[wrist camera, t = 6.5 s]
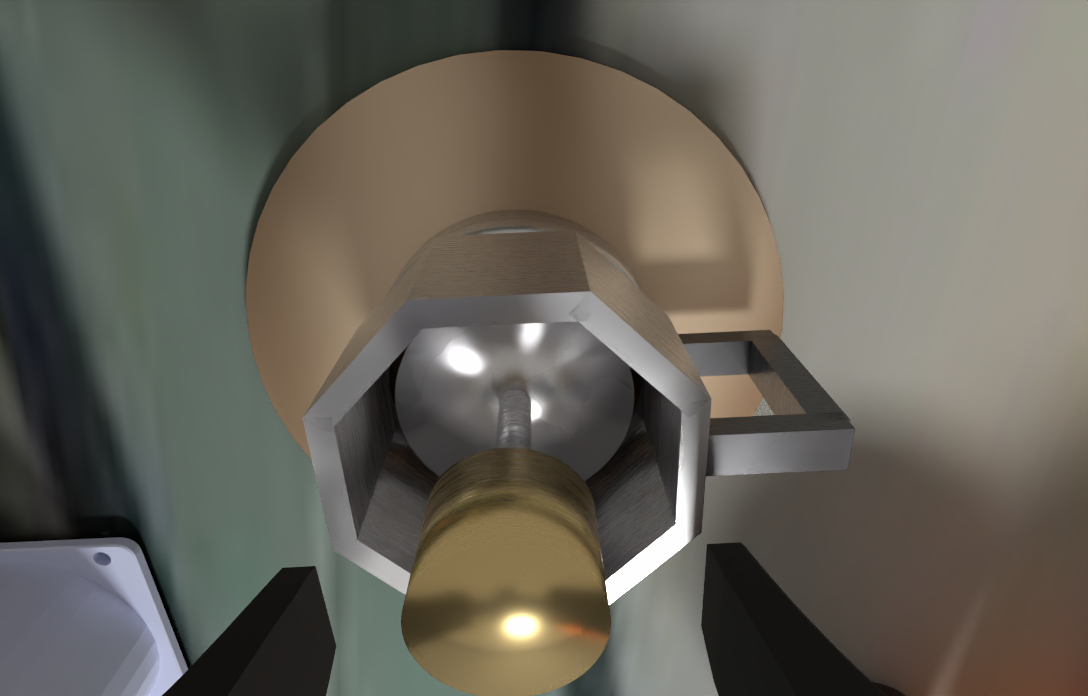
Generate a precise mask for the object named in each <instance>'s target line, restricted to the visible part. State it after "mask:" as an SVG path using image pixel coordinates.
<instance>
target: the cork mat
mask: <svg viewBox="0 0 1088 696" xmlns="http://www.w3.org/2000/svg"><path fill="white" fill-rule="evenodd" d="M509 209H512V210H533V211H539V212H546V213H550V214H553V215H557V216H560V217H564V218H566V219H569V220H571V221H573V222H576V223H578V224H580V225H582V226H584V227H586V228H587V229H589V230H591V231H592V232H594V233H595V234H597V235H598V236H600V237H601V238H602V239H603V240H605V241H606V242H607V243H608V244H610V245H611V246H612V247H613V248H614V249H615V250H616V251H617V252H618V254H619V255H620V256H621V257H622V258H623V259H624V260H625V262H626V263H627V265H628V266H629V267H630V269H631V270H632V272H633V273H634V275H635V277H636V279H637V281H638V283H639V285H640V287H641V289H642V291H643V293H644V294H645V295H646V296H647V297H649V298H650V299H651V300H652V301H653V302H654V303H655V304H656V305H657V306H658V307H659V308H661V309H662V310H663V311H664V312H665V313H666V314H667V315H668V316H669V318H670V320H671V322H672V324H673V326H674V328H675V329H676V331H677V333H678V334H688V333H709V332H731V331H753V330H771V331H772V332H773V333H774V335H777V336H778V337H779V338H780V337H781V332H782V321H783V302H784V294H783V282H782V271H781V262H780V258H779V254H778V250H777V246H776V242H775V237H774V233H773V230H772V227H771V225H770V222H769V220H768V217H767V215H766V212H765V210H764V207H763V205H762V202H761V200H760V197H759V196H758V194H757V192H756V191H755V189H754V187H753V185H752V184H751V182H750V180H749V179H748V177H747V175H746V173H745V172H744V170H743V168H742V167H741V165H740V164H739V163H738V162H737V160H736V159H735V158H734V157H733V155H732V154H731V153H730V152H729V150H728V149H727V148H726V147H725V145H724V144H723V143H722V142H721V140H720V139H719V138H718V137H717V136H716V135H715V134H714V133H713V132H712V131H711V130H710V129H708V128H707V127H706V126H705V125H704V124H703V123H702V122H701V121H700V120H699V119H698V118H697V117H696V116H694V115H693V114H692V113H691V112H690V111H689V110H687V109H686V108H684V107H683V106H682V105H680V104H679V103H677V102H676V101H674V100H673V99H671V98H670V97H668V96H667V95H666V94H664V93H663V92H661V91H660V90H658V89H657V88H655V87H653V86H651V85H649V84H647V83H644V82H642V81H640V80H638V79H636V78H634V77H632V76H630V75H628V74H626V73H624V72H622V71H620V70H617V69H614V68H610V67H607V66H604V65H601V64H598V63H595V62H592V61H589V60H586V59H583V58H578V57H572V56H566V55H560V54H555V53H549V52H543V51H518V50H495V51H487V52H478V53H470V54H462V55H456V56H452V57H448V58H444V59H441V60H437V61H433V62H430V63H426V64H422V65H418V66H416V67H413V68H411V69H409V70H407V71H404V72H402V73H400V74H397V75H395V76H393V77H390V78H388V79H386V80H384V81H381V82H379V83H378V84H376V85H374V86H373V87H371V88H370V89H368V90H366V91H365V92H363V93H362V94H360V95H358V96H357V97H355V98H354V99H352V100H350V101H349V102H347V103H346V104H345V105H343V106H342V107H341V108H340V109H339V110H338V111H336V112H335V113H334V114H333V115H332V116H331V117H329V118H328V119H327V120H326V121H325V122H324V123H322V124H321V125H320V126H319V127H318V128H317V129H316V130H315V131H314V132H313V133H312V134H311V136H310V137H309V138H308V139H307V140H306V141H305V143H304V144H303V145H302V146H301V147H300V148H299V150H298V151H297V152H296V153H295V154H294V155H293V156H292V158H291V159H290V161H289V163H288V164H287V166H286V167H285V169H284V171H283V172H282V174H281V175H280V177H279V179H278V180H277V182H276V183H275V185H274V187H273V188H272V190H271V193H270V195H269V197H268V200H267V202H266V204H265V207H264V209H263V211H262V214H261V216H260V218H259V221H258V224H257V228H256V232H255V235H254V239H253V243H252V247H251V251H250V254H249V263H248V273H247V282H246V307H247V324H248V330H249V335H250V341H251V346H252V351H253V355H254V359H255V362H256V365H257V368H258V371H259V374H260V377H261V380H262V383H263V385H264V387H265V389H266V391H267V394H268V396H269V398H270V400H271V402H272V404H273V406H274V408H275V410H276V412H277V414H278V415H279V417H280V418H281V420H282V421H283V423H284V424H285V426H286V428H287V429H288V431H289V432H290V434H291V435H292V437H293V438H294V440H295V441H296V442H297V443H298V444H299V445H300V447H301V448H302V449H303V450H304V451H305V453H306V454H307V455H308V456H309V457H310V458H311V454H310V449H309V445H308V441H307V436H306V432H305V428H304V423H303V419H302V418H303V416H304V414H305V413H306V411H307V409H308V408H309V406H310V405H311V403H312V401H313V400H314V398H315V396H316V395H317V393H318V392H319V390H320V388H321V387H322V385H323V383H324V382H325V380H326V378H327V377H328V375H329V374H330V372H331V370H332V369H333V367H334V365H335V364H336V362H337V361H338V359H339V357H340V356H341V354H342V352H343V351H344V349H345V347H346V346H347V344H348V343H349V341H350V339H351V338H352V336H353V334H354V333H355V331H356V330H357V329H358V327H359V326H360V325H361V324H362V323H363V322H364V320H365V319H366V318H367V317H368V316H369V315H370V314H371V312H372V311H373V310H374V309H375V308H376V307H377V305H378V304H379V303H380V302H381V301H382V300H383V299H384V297H385V296H386V295H387V294H388V292H389V291H390V289H391V287H392V285H393V284H394V282H395V280H396V278H397V277H398V275H399V273H400V271H401V270H402V268H403V267H404V266H405V264H406V263H407V261H408V260H409V259H410V257H411V256H412V255H413V254H414V253H415V252H416V251H417V250H418V249H419V248H420V247H421V246H422V245H423V244H424V243H425V242H426V241H427V240H429V239H430V238H431V237H433V236H434V235H435V234H437V233H438V232H440V231H441V230H443V229H445V228H447V227H448V226H450V225H452V224H454V223H456V222H458V221H461V220H463V219H466V218H469V217H471V216H474V215H478V214H483V213H487V212H491V211H500V210H509ZM700 378H701V379H702V381H703V383H704V385H705V387H706V389H707V391H708V393H709V395H710V397H711V399H712V401H711V414H710V418H726V417H747V416H753V415H754V413H755V411H756V409H757V407H758V405H759V403H760V401H761V399H762V397H763V396H762V394H761V393H760V391H759V390H758V388H757V387H756V385H755V384H754V382H753V381H752V379H751V378H750V376H749V375H748V374H744V375H723V376H701V377H700ZM311 460H312V458H311Z"/></svg>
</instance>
